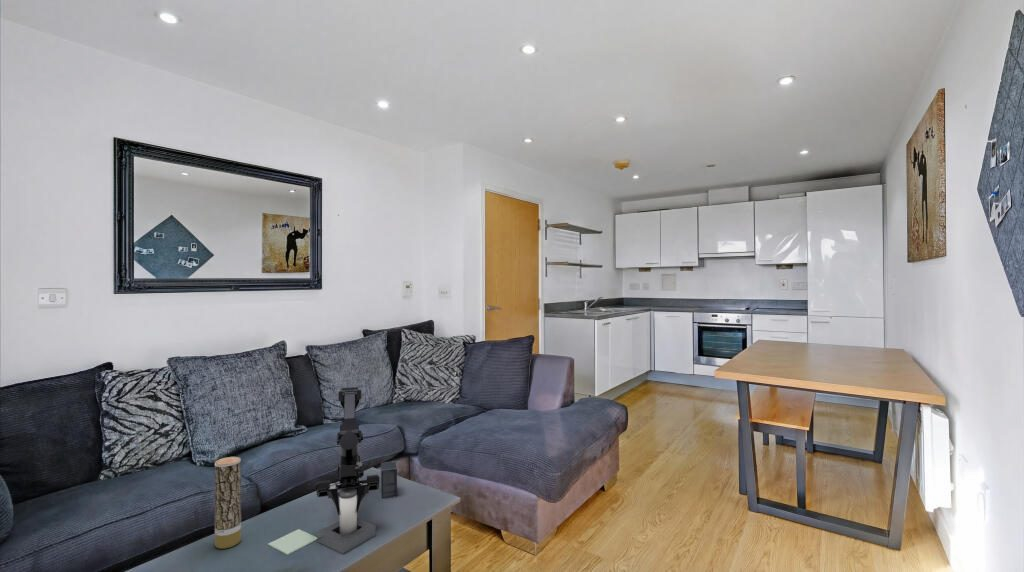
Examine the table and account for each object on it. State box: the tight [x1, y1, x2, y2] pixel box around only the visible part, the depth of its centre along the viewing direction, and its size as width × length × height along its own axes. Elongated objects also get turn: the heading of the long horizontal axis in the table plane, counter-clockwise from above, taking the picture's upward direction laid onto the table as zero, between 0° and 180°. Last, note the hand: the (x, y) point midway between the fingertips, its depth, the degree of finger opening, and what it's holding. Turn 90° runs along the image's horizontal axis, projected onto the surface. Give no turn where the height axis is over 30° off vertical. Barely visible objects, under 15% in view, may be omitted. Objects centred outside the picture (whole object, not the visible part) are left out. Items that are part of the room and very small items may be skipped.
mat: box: [267, 528, 317, 556], centre depth 142 cm, size 10×10×1 cm
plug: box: [339, 488, 358, 537], centre depth 144 cm, size 5×5×13 cm
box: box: [380, 460, 398, 499], centre depth 176 cm, size 8×6×11 cm
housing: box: [316, 518, 377, 555], centre depth 144 cm, size 12×12×3 cm
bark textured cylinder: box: [214, 456, 242, 550], centre depth 142 cm, size 7×7×25 cm
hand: (348, 513), depth 143 cm, fingers closed on plug, 5 cm apart
